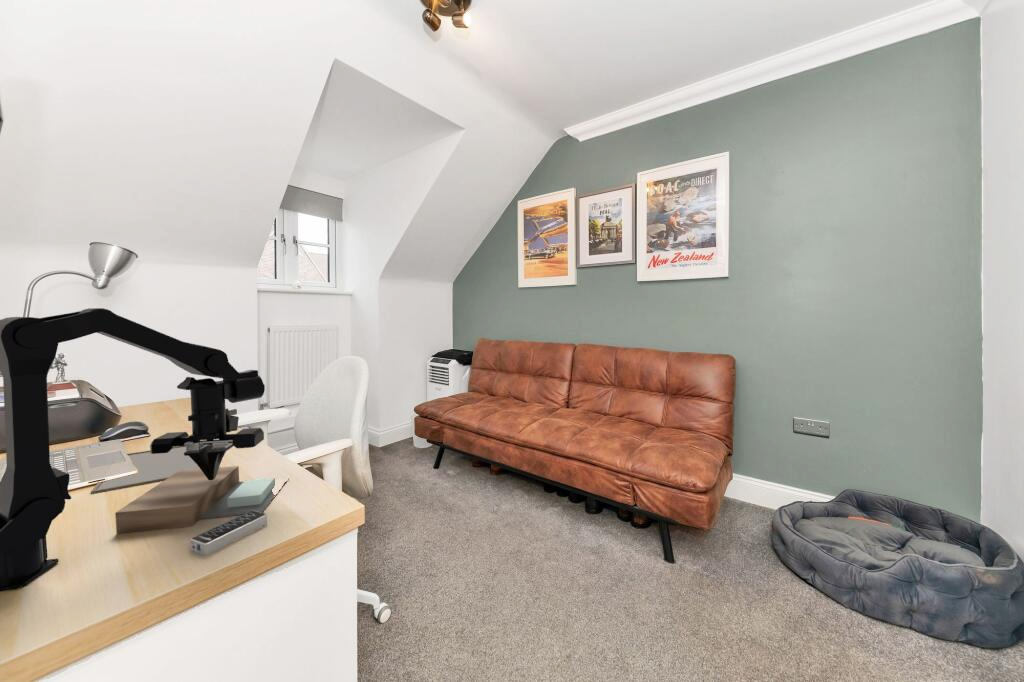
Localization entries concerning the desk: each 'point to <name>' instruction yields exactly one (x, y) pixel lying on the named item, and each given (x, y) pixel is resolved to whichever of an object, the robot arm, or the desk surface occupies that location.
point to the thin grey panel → (150, 469)
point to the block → (251, 492)
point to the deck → (176, 501)
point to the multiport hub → (227, 532)
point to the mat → (223, 511)
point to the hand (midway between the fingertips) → (212, 479)
